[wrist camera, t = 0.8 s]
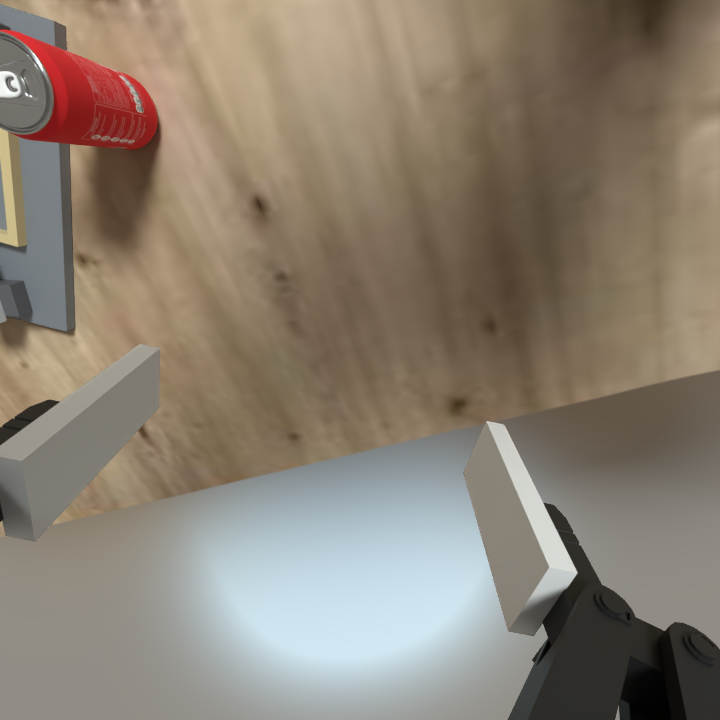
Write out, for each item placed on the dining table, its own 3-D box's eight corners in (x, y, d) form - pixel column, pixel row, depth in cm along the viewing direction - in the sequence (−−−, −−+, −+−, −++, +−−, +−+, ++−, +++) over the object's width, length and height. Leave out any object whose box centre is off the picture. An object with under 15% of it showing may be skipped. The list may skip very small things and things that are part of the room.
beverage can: (170, 148, 33) (70, 137, 23) (109, 151, 34) (-18, 141, 23) (153, 73, 31) (35, 20, 20) (89, 77, 32) (-62, 27, 21)
